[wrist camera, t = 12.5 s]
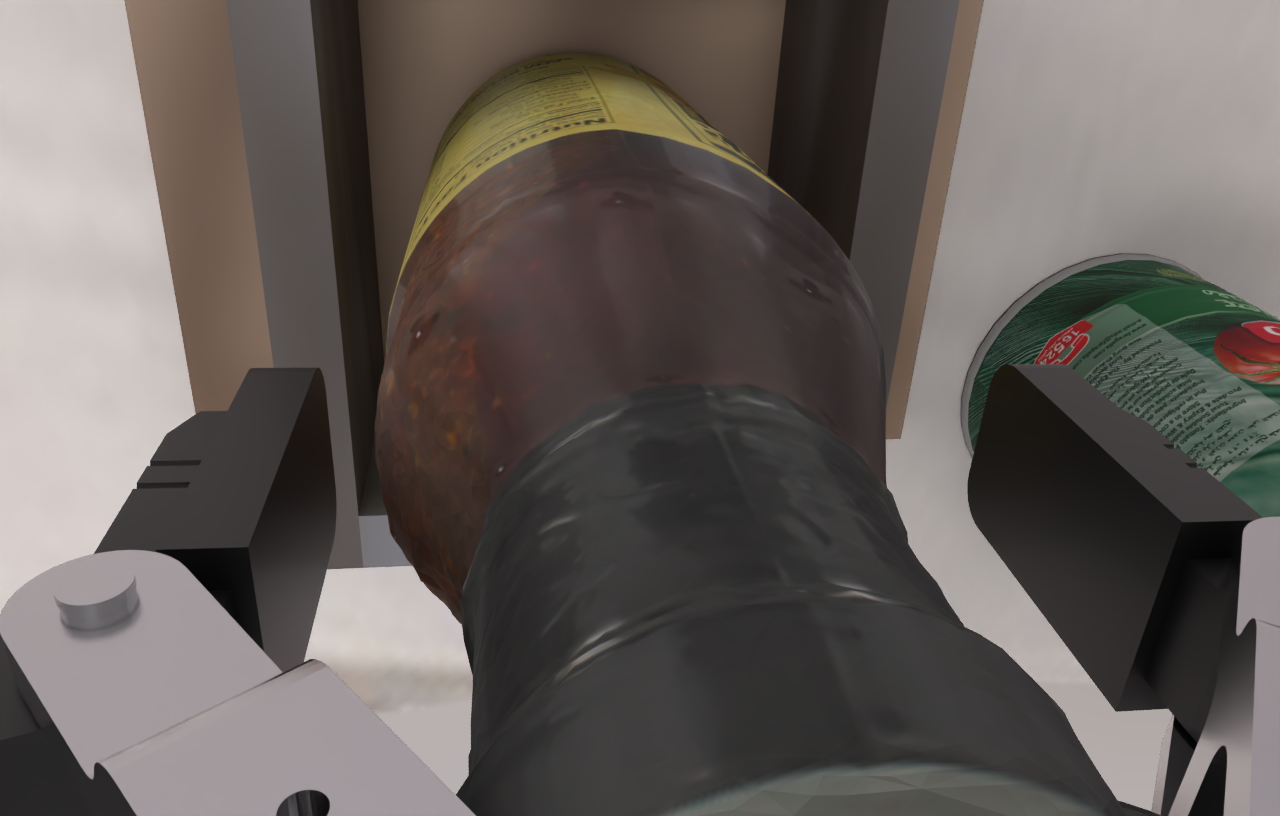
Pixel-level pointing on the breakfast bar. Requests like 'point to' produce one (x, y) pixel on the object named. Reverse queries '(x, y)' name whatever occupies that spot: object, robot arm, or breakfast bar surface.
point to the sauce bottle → (675, 486)
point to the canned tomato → (1155, 361)
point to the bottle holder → (417, 118)
